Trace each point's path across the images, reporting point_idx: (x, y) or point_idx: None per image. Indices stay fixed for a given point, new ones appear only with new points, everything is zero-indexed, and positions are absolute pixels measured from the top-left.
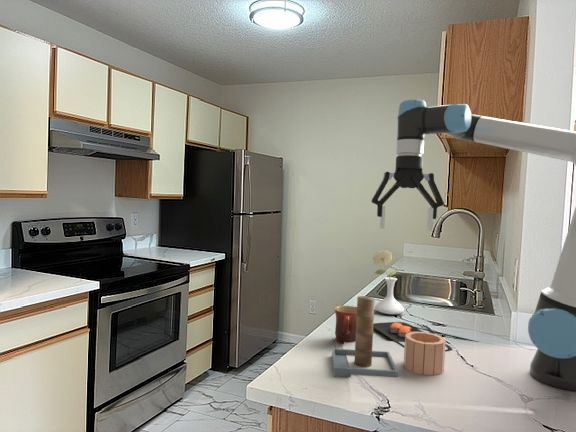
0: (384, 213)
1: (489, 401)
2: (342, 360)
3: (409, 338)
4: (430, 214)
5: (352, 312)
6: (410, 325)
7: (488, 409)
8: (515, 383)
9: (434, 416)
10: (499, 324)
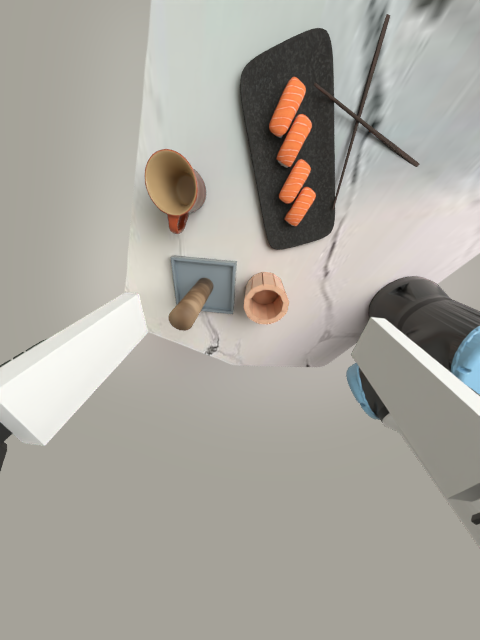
0: (91, 391)
1: (292, 340)
2: (185, 276)
3: (246, 308)
4: (404, 434)
5: (183, 165)
6: (331, 66)
7: (284, 350)
8: (340, 313)
9: (243, 356)
10: None
